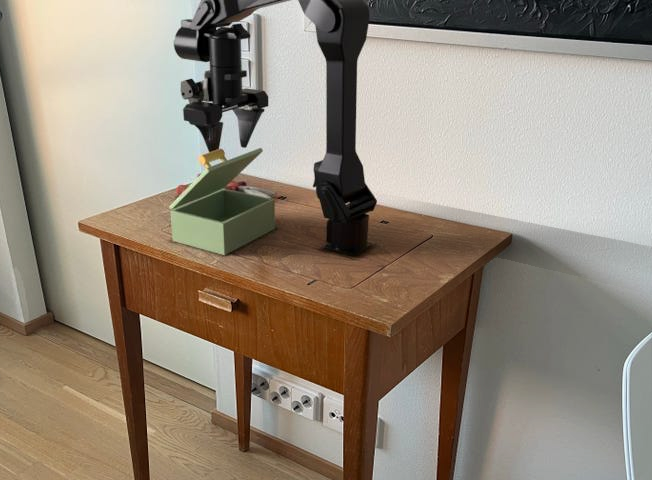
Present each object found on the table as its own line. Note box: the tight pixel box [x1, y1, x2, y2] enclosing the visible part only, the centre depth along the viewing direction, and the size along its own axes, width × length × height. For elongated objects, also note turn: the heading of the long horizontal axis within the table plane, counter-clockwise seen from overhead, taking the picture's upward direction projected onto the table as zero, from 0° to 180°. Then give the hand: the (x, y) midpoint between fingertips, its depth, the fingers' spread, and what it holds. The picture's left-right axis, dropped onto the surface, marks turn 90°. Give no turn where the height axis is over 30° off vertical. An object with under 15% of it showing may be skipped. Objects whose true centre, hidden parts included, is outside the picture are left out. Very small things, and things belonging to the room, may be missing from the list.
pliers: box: [176, 172, 277, 199], centre depth 154 cm, size 12×20×3 cm, turn 68°
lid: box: [168, 147, 264, 211], centre depth 130 cm, size 12×15×4 cm
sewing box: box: [169, 188, 276, 256], centre depth 133 cm, size 12×15×6 cm
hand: (229, 152), depth 139 cm, fingers open, 9 cm apart
